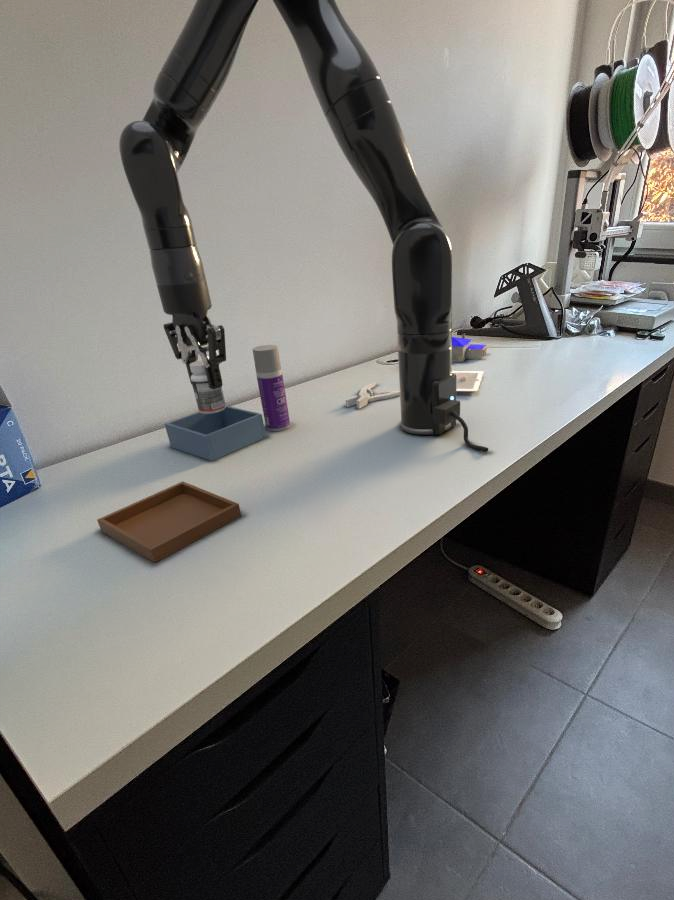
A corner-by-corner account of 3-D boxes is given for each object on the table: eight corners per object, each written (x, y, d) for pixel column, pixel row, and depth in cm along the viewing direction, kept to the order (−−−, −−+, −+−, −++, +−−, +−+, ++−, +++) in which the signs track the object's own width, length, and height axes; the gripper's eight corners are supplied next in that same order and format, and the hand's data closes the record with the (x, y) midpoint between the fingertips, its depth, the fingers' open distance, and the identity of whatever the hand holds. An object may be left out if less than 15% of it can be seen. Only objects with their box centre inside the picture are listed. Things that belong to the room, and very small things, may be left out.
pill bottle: (202, 406, 96) (190, 360, 92) (228, 404, 96) (217, 357, 92) (196, 415, 92) (183, 367, 88) (223, 412, 92) (212, 364, 88)
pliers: (409, 382, 117) (371, 403, 106) (409, 389, 118) (372, 410, 107) (372, 378, 122) (332, 397, 111) (373, 385, 123) (333, 404, 112)
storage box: (266, 437, 98) (261, 414, 96) (211, 461, 90) (205, 436, 87) (225, 425, 105) (220, 403, 102) (170, 447, 96) (164, 423, 94)
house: (476, 365, 132) (477, 342, 129) (422, 363, 137) (421, 341, 134) (486, 354, 141) (487, 332, 138) (435, 352, 146) (434, 331, 143)
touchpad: (440, 395, 113) (440, 385, 112) (450, 375, 125) (450, 366, 124) (477, 396, 111) (477, 386, 110) (483, 376, 123) (483, 366, 122)
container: (285, 431, 100) (272, 350, 92) (262, 431, 101) (247, 351, 93) (293, 422, 104) (282, 344, 96) (271, 422, 105) (258, 344, 97)
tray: (241, 515, 73) (238, 503, 72) (155, 562, 64) (150, 549, 63) (185, 492, 80) (182, 481, 79) (101, 531, 71) (96, 519, 70)
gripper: (228, 276, 82) (250, 385, 90) (175, 276, 90) (200, 376, 98) (187, 283, 77) (214, 397, 85) (135, 282, 85) (164, 387, 93)
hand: (206, 385), depth 92 cm, fingers closed on pill bottle, 4 cm apart
